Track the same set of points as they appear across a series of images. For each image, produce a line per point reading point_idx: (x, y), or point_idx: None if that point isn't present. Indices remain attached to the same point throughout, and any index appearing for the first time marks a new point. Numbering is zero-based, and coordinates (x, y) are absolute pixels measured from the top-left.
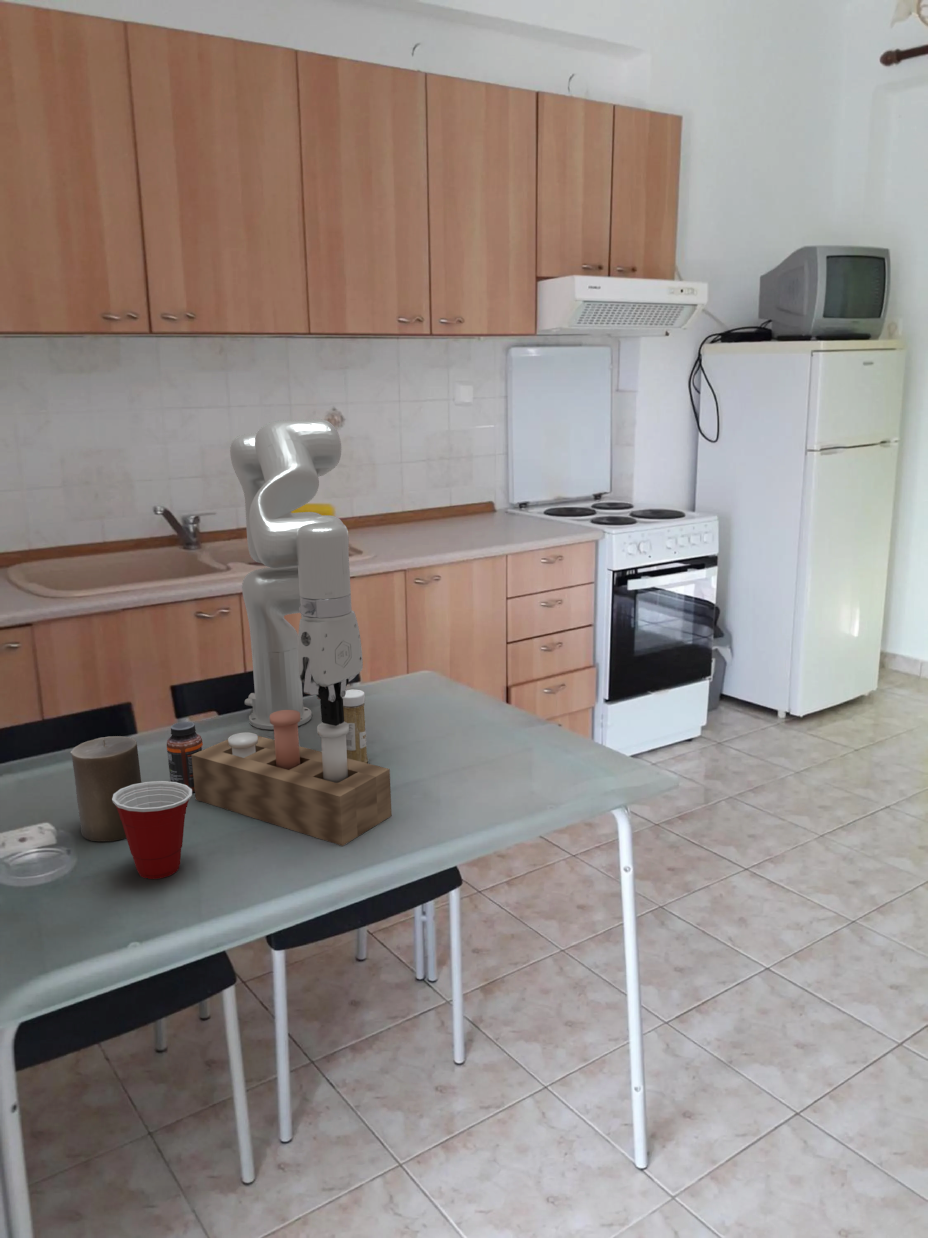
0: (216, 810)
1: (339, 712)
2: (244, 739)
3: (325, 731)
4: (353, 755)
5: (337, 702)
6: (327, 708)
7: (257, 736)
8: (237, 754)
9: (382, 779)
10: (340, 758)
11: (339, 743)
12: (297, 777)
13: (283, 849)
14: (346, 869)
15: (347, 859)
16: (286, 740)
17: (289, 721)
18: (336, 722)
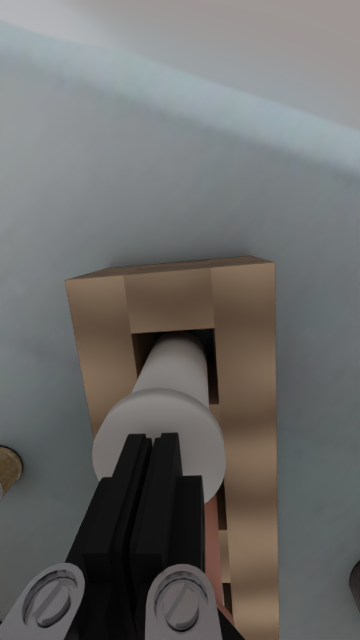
0: None
1: (139, 480)
2: None
3: (222, 446)
4: (2, 470)
5: (150, 539)
6: (202, 543)
7: None
8: (223, 602)
9: (102, 275)
10: (180, 362)
11: (177, 386)
12: (244, 428)
13: (317, 333)
14: (318, 181)
15: (286, 210)
16: (209, 550)
17: None
18: (175, 444)
